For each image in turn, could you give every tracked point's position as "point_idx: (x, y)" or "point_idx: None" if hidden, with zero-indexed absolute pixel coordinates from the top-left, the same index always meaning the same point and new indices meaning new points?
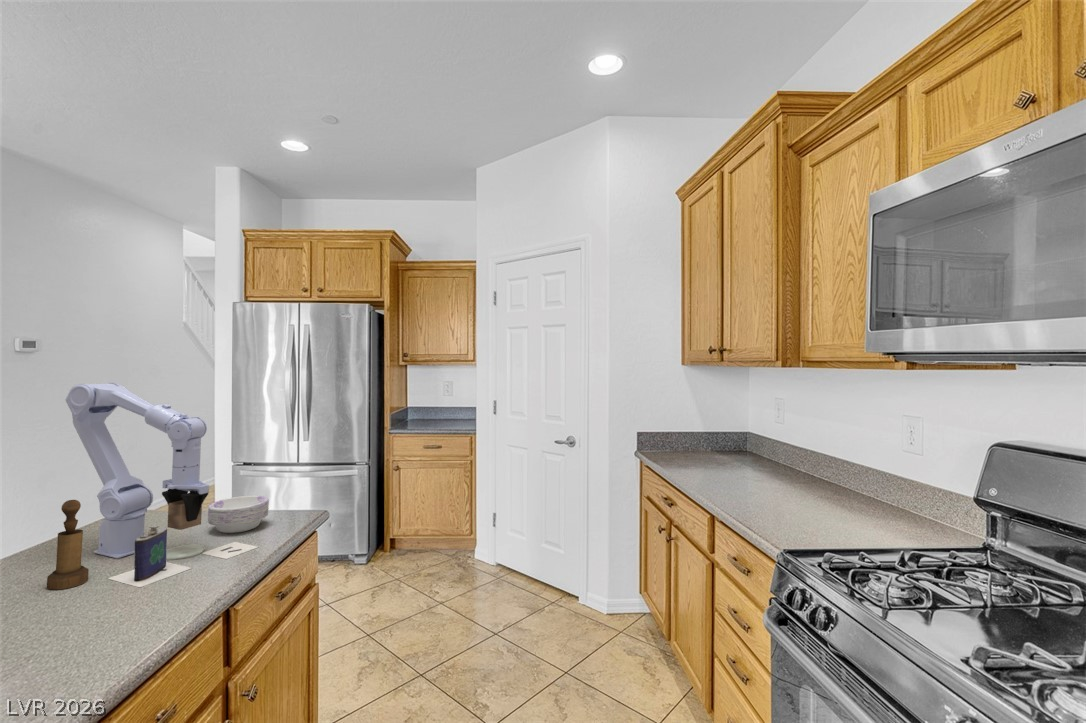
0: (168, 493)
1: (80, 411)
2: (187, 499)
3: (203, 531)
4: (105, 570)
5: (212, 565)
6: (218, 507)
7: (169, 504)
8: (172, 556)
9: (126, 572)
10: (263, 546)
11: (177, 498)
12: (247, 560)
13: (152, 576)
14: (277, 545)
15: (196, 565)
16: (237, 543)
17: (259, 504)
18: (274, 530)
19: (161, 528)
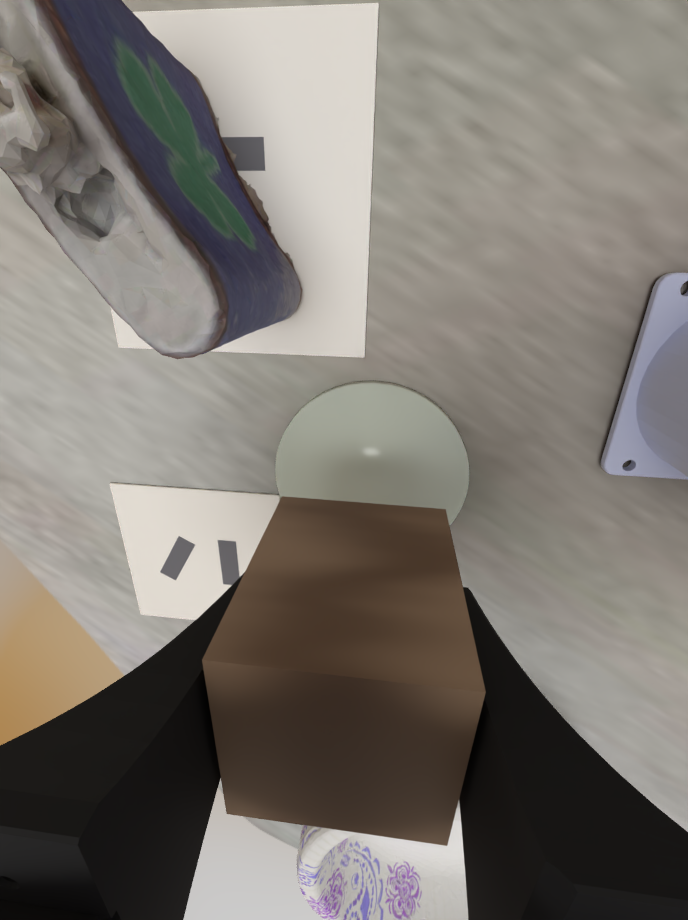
0: (550, 889)
1: None
2: (15, 747)
3: (554, 687)
4: (545, 106)
5: (85, 411)
6: None
7: (458, 677)
8: (336, 403)
9: (367, 141)
10: (136, 623)
11: (479, 814)
12: (28, 501)
13: None
14: (102, 642)
15: (146, 384)
16: None
17: (299, 881)
18: None
19: (183, 321)
